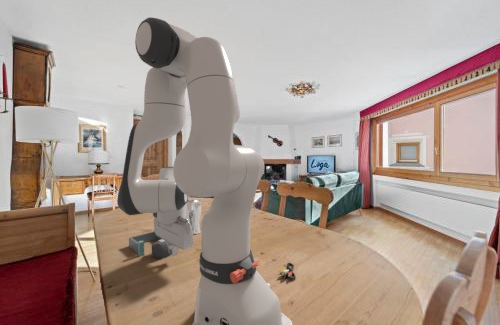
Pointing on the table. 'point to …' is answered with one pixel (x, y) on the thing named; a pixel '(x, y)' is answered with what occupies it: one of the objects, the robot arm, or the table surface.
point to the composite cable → (288, 272)
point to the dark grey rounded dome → (160, 249)
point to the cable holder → (142, 241)
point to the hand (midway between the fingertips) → (173, 254)
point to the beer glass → (194, 214)
